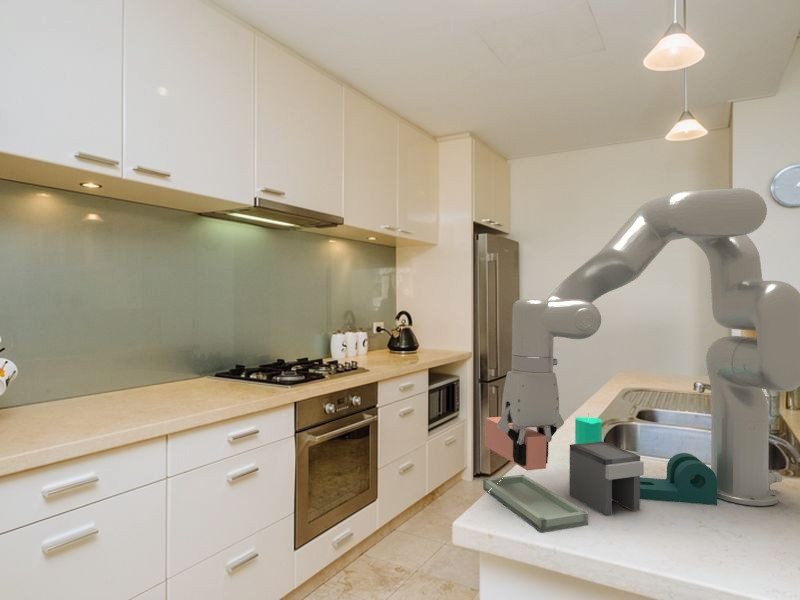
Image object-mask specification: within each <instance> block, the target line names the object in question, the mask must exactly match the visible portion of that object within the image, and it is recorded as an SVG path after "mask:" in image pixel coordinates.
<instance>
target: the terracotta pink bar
mask: <svg viewBox="0 0 800 600" xmlns="http://www.w3.org/2000/svg"><path fill="white" fill-rule="evenodd" d="M501 417H502V416H495V417H485V419H484V447H486V448H488V449H489V450H491V451H493V452H494V453H496V454H498V455H499V456H501V457H503V458H505V459H507V460H508V461H510V462H512V464H513V463H514V464H515V465H517V466H519V467H520V468H522V469H524V470H525V471H536V470H545V469H547V464H546V443H547V436H545V435H543V434H541V433H538V432H537V430H533V429H531V428H530V427H526V431H525V437H524V442H523V443H524V444H526V465H525V466H521V465H519V464H517V463H516V462H514V458H513V441H512V440H511V439H510V437H509V436H508V435H507V434H506V433H505V432H503V431H502V430H500V429H499V428H498V427H497V424H498V422H499V421H500V419H501ZM512 424H513V423H509V424H508V426H509V427H510V428H511V429H512Z"/></svg>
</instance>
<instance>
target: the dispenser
mask: <svg viewBox="0 0 800 600" xmlns="http://www.w3.org/2000/svg"><path fill="white" fill-rule="evenodd" d="M643 476H644V461H641V455H639V454H636V453H634V452H632V451H631V452H630V451H628V450H625V449H623V448H621V447H617V446H614V445H612V444H610V443H607V442H604V441H601V442H591V443H581V444H575V443H574V444H573V443H572V444H569V481H568V482H569V491H568V492H569V496H571V497H572V498H573V499H576V500H577V501H579V502H581V503H582V504H584V505H586V506H587V507H589V508H591V509H592V510H594V511H596V512H598V513H600V514H601V515H603V516H605V517H607V516H612V515H613V513H612V512H613V509H612V508H613V502H615V503H617V504H619V505H621V506H623V507H625V508H627V509H629V510H630V511H633V512H637V511H640V510H641V499H640V477H643ZM612 501H613V502H612Z"/></svg>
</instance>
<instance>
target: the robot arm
mask: <svg viewBox="0 0 800 600" xmlns="http://www.w3.org/2000/svg"><path fill="white" fill-rule="evenodd" d="M767 212H768V208H767V204H766V201H765V200H764V198H763V197H762V196H761V195H760V194H759V193H757V192H756V191H755V190H753V189H752V190H751V189H749V188H744V187H743V188H741V187H739V188H721V189H720V188H719V189H704V190H703V189H701V190H700V189H699V190H684V191H678V192H673V193H671V194H666V195H664V196H660V197H657V198H654V199H651V200H649V201H646V202H645V203H643V204H642V205H641V206H639V208H637V209H636V210H635V212H634V213H633V214H632V215H631V216H630V217H629V218H628V220H626V222H625V223H624V224H623V225H622V226H621V227H620V229H619V230H618V231H617V232H616V233H615V234H614V235H613V236H612V237H611V239H610V240H609V241H608V242H607V243H606V244H605V245H604V247H603V248H601V250H599V251H598V252H597V253H596V254H595V255H593V256H592V257H591V258H589V259H588V260H587V261H586V262H585V263H583V264H582V265H581V266H579V267H578V268H577V269H575V270H574V271H573V272H572V273H571V274H569V275H568V276H567V277H566V278H565V279H564V280H562V282H561V283H560V284H559V285H558V286H557V287H556V288H555V289H554V290H553V291H552V292H551V294H550V295H548V297H547V298H546V299H538V298H537V299H533V298H531V299H529V298H527V299H518V300H516V301H515V302H513V305H512V319H511V320H512V321H511V323H512V326H511V328H512V331H511V332H512V333H511V370H509V371H507V373H506V376H505V381H504V385H503V392H502V403H501V416H500V417H501V419H500V421H499V422H498V424H497V427H498V428H499V429H500V430H502V431H503V432H505V433H506V434H507V435H508V436H509V437H510V439H511V440H512V441H513V458H514V462H516V463H517V464H519V465H521V466H525V465H526V444H524V443H523V442H524V437H525V431H526V427H527V428H536V432H538V433H541V434H543V435H545V436H547V443H546V465H547V464H549V463H548V461H549V460H548V459H549V443H550V442H552V440H553V436H554V435H555V434H556V432H557V430H559V429H560V428H561V427H562V426H563V425H564V424H565V421H564V419H563V416H562V415H561V413H560V396H559V395H560V394H559V388H558V387H559V386H558V381H557V379H558V378H557V375H556V373H555V372H554V366H557V365H558V359H557V358H556V357H555V358H554V338H565V339H570V340H571V339H572V340H586V339H588V338H590V337H593V335H595V334H596V333H597V332H598V330H599V329H600V328H601V325H602V315H601V312H600V310H599V309H598V307H596V305H594V304H593V302H594V301H596V300H598V299H599V298H601V297H602V296H604V295H605V294H608V293H609V292H612V291H614V290H616V289H617V290H618V289H620V288H622V287H624V286H626V285H628V284H630V283H632V282H633V281H635V280H636V279H638V277H640V276H641V274H642V273H643V272H644V271H645V270H646V269H647V268H648V266H649V265H650V264H651V263H652V261H653V260H655V258H656V257H657V256H658V255H659V254H660V253H661V252H662V250H663V249H664V248H665V247H666V246H667V244H669V243H670V242H672V241H676V240H680V239H689V240H691V241H692V242H693V243H694V244H696V245H697V246H698V247H699V248H700V249H701V251H703V253H704V254H705V256H706V258H707V260H708V263H709V271H710V289H711V290H710V294H711V308H712V309H711V310H712V316H713V318H714V320H715V322H716V323H717V324H718V325H720V326H721V327H722V328H723V327H724V328H725V329H730V330H731V329H732V330H739V331H741V330H742V331H751V332H753V331H755V335H756V336H755V337H753V336H744V335H729V336H728V335H727V336H724V337H721V338H718V339H717V340H714V341H713V342H712V343H711V344H710V345H709V348H708V349H707V351H706V355H705V362H706V370H707V375H708V379H709V384H710V395H711V413H710V414H711V415H710V416H711V422H710V423H711V425H710V430H711V431H710V435H711V436H710V439H711V441H710V469H711V470H712V471H713V472H714V473H715V475H716V478H717V499H721V500H723V501H726V502H731V503H734V504H740V505H745V506H746V505H747V506H755V507H766V506H767V507H768V506H774V505H776V504H777V503H778V502H779V495H778V493H777V492H776V491H775V490H773V489H771V485H772V484H776V483H780V482H782V481H783V475H782V474H781V473H780V472H778V471H773V472H769V449H770V448H769V447H770V446H769V444H770V443H769V441H770V440H769V433H770V432H769V431H770V430H769V429H770V428H769V427H770V426H769V423H770V411H769V410H770V409H769V404H768V400H767V397H766V395H765V392H764V390H767V391H772V392H778V393H782V392H783V393H786V392H787V393H789V392H792V391H794V390H797V389H798V388H799V387H800V292H799V291H798V290H797V288H796V287H794V286H793V285H791V284H790V283H789V282H784V281H780V280H763V274H762V265H761V256H760V253H759V249H758V247H757V246H756V244H755V243H754V241H753V240H752V239H751V238H750V236H748V235H749V234H751V233H753V232H755V231H757V230H758V229H760V227H761V226H762V225H763V224H764V222H765V220H766V218H767ZM509 423H513V424H512V429H511V428H510V427H509V426H508V424H509ZM517 464H516V465H517ZM519 465H518V466H519Z"/></svg>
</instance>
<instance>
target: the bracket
mask: <svg viewBox="0 0 800 600" xmlns="http://www.w3.org/2000/svg"><path fill="white" fill-rule="evenodd" d="M640 500H645V501H657V502H669V503H682V504H683V503H684V504H696V505H707V506H708V505H709V506H718V498H717V478H716V475H715V473H714V472H713V471H712V470H711V467H709V466H708V465H707V464H705V463H704V462H703V461H702V460H701V459H699V458H697V456H695V455H693V454H691V453H687V452H681V453H680V452H679V453H677V454H674V455H673V456H672V457H671V458H670V459H669V460H668V462H667V464H666V478H653V477H652V478H651V477H642V476H640Z"/></svg>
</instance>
